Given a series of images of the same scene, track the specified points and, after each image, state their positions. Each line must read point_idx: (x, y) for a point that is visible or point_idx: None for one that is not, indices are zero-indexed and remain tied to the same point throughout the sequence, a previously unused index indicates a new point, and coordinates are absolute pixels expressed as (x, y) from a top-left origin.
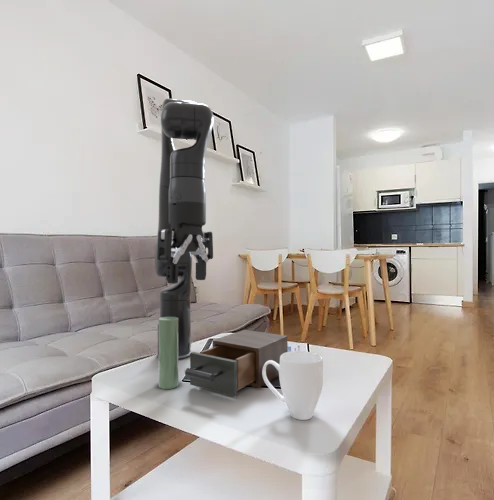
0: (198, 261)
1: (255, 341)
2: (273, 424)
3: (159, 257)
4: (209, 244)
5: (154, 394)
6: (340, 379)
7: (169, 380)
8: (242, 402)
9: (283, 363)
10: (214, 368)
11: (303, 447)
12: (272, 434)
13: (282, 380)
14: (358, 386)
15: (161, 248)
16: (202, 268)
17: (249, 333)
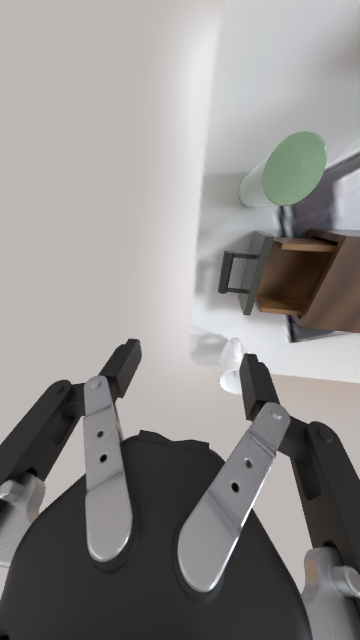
0: (257, 410)
1: (346, 309)
2: (210, 335)
3: (52, 393)
4: (308, 529)
5: (217, 198)
6: (330, 357)
7: (243, 202)
8: (238, 302)
9: (223, 371)
10: (248, 281)
11: (192, 354)
12: (197, 338)
13: (223, 358)
14: (312, 370)
15: (34, 428)
16: (245, 398)
17: None
